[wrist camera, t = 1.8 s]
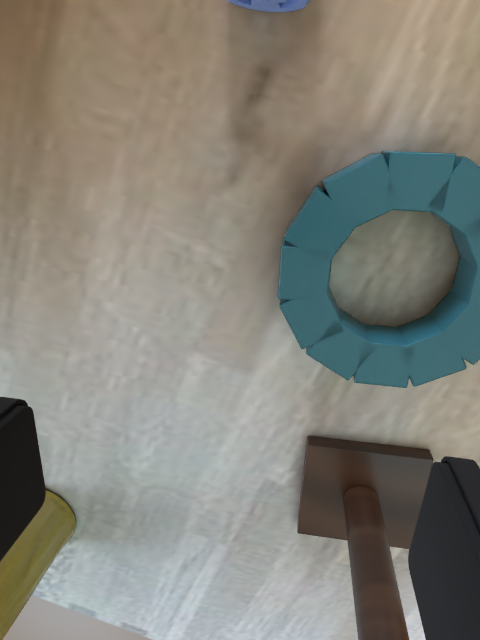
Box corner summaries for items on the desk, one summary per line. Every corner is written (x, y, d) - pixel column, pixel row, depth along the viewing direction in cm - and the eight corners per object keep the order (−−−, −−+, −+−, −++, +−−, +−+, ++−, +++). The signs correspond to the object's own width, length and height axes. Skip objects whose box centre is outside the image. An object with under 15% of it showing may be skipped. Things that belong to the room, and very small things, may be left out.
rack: (307, 435, 29) (310, 698, 15) (429, 449, 28) (551, 743, 14) (297, 522, 32) (291, 807, 18) (407, 537, 31) (489, 849, 17)
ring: (290, 147, 22) (288, 147, 20) (539, 156, 21) (569, 157, 18) (275, 354, 27) (272, 375, 24) (477, 373, 25) (495, 397, 23)
